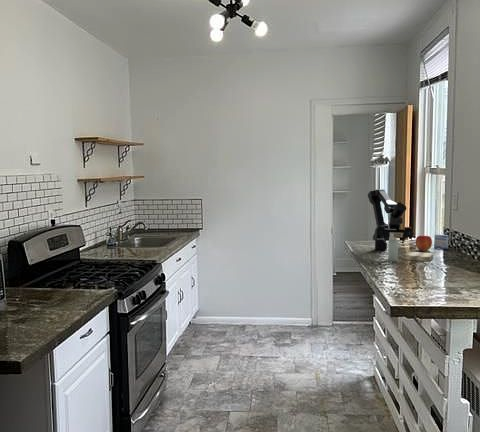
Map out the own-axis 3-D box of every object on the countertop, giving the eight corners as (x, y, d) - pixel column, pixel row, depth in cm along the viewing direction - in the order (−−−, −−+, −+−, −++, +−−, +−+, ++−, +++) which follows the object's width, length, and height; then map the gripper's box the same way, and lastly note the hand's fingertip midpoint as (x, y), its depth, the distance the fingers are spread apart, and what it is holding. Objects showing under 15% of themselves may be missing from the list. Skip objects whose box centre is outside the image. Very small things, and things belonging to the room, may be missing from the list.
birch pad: (405, 259, 268) (405, 255, 268) (409, 255, 279) (409, 251, 279) (429, 261, 262) (430, 257, 261) (433, 257, 273) (433, 253, 273)
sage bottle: (387, 260, 264) (387, 237, 263) (389, 259, 269) (389, 236, 267) (396, 261, 262) (397, 238, 260) (398, 260, 266) (399, 237, 265)
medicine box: (433, 248, 304) (434, 234, 304) (434, 247, 308) (435, 234, 307) (447, 249, 301) (447, 235, 300) (447, 248, 305) (448, 234, 304)
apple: (434, 252, 290) (434, 236, 289) (418, 252, 290) (419, 236, 289) (428, 249, 299) (428, 233, 298) (413, 249, 300) (413, 233, 299)
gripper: (377, 212, 273) (376, 233, 264) (412, 212, 267) (411, 234, 257) (378, 224, 281) (376, 245, 272) (411, 225, 275) (411, 247, 266)
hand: (393, 243), depth 266 cm, fingers open, 9 cm apart
